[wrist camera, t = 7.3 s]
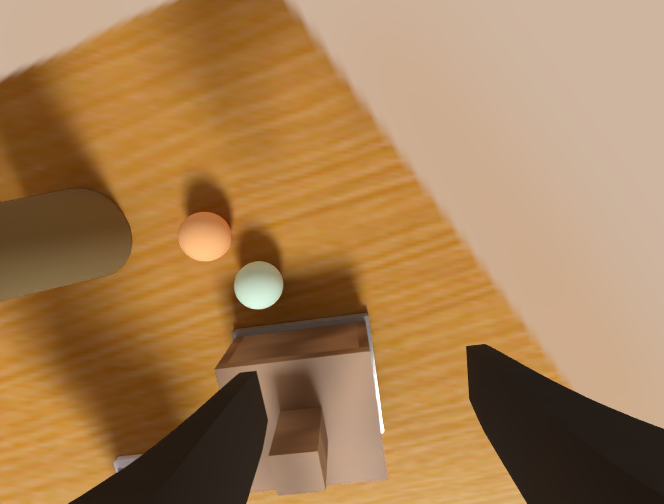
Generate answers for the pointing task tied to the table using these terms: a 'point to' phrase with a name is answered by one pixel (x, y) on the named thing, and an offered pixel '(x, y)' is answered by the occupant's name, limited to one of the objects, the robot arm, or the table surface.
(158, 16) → the table surface
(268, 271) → the mint ball
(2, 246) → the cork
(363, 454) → the walnut cover
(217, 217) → the terracotta ball
